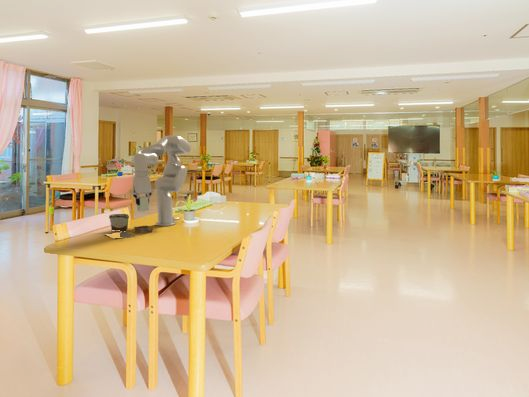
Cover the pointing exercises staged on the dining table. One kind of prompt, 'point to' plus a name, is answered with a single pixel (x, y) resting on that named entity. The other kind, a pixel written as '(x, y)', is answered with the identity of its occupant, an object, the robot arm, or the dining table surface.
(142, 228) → the walnut holder
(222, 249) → the dining table surface
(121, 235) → the charcoal mat
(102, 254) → the dining table surface
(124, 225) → the food container
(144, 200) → the sage block
